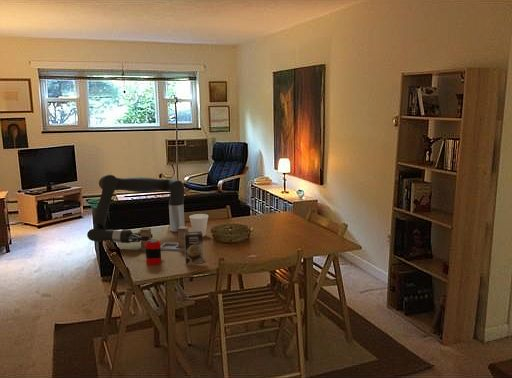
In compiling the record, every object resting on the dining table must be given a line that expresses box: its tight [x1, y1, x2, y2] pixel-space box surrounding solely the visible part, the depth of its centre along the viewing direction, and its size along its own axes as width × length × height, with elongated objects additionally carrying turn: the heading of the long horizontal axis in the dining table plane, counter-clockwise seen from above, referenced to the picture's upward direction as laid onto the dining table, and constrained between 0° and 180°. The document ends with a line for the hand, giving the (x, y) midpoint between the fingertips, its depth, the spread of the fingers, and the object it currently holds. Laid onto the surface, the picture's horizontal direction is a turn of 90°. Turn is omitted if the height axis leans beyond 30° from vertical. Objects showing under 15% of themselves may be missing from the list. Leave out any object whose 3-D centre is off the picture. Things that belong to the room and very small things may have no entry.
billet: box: [139, 227, 152, 251], centre depth 266 cm, size 4×4×12 cm
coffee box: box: [184, 231, 204, 266], centre depth 242 cm, size 9×6×16 cm
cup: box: [189, 213, 209, 237], centre depth 291 cm, size 12×12×12 cm
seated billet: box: [177, 225, 189, 249], centre depth 261 cm, size 4×4×12 cm
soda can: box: [145, 238, 162, 266], centre depth 243 cm, size 8×8×12 cm
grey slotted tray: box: [160, 242, 185, 253], centre depth 263 cm, size 12×21×3 cm, turn 80°
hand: (150, 237), depth 265 cm, fingers closed on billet, 4 cm apart
